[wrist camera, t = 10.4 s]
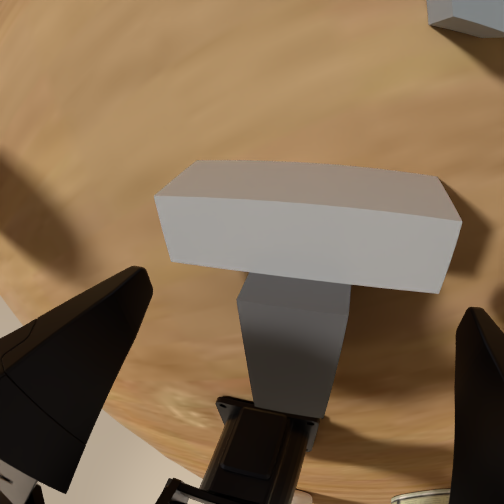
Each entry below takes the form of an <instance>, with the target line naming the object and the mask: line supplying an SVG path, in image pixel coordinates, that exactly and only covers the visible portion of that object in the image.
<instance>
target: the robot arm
mask: <svg viewBox="0 0 504 504" xmlns="http://www.w3.org/2000/svg"><path fill="white" fill-rule="evenodd" d="M152 295H153V287H152V284H151V282H150V279H149V276H148V273H147V271H146V269H145V268H143V267H139V266H131V267H129V268H127V269H125V270H123V271H121V272H119V273H118V274H116V275H114V276H112V277H110V278H108V279H106V280H105V281H103V282H101V283H99V284H97V285H95V286H93V287H92V288H90V289H88V290H86V291H84V292H83V293H81V294H79V295H77V296H75V297H73V298H72V299H70V300H68V301H66V302H65V303H63V304H61V305H59V306H57V307H56V308H54V309H52V310H50V311H49V312H47V313H45V314H43V315H42V316H40V317H38V318H37V319H35V320H33V321H31V322H30V323H28V324H26V325H24V326H23V327H21V328H19V329H17V330H15V331H14V332H12V333H10V334H8V335H6V336H4V337H2V338H0V504H45V503H44V498H43V494H42V489H41V486H40V485H38V484H37V482H38V481H39V482H41V483H43V484H45V485H47V486H49V487H51V488H53V489H56V490H58V491H60V492H62V493H65V494H66V493H67V491H68V489H69V486H70V484H71V481H72V478H73V476H74V473H75V471H76V468H77V466H78V463H79V461H80V458H81V456H82V454H83V451H84V449H85V446H86V445H85V444H86V443H87V441H88V439H89V436H90V434H91V432H92V430H93V427H94V425H95V422H96V420H97V418H98V416H99V414H100V411H101V409H102V407H103V405H104V403H105V400H106V398H107V396H108V394H109V392H110V390H111V388H112V385H113V383H114V381H115V379H116V377H117V375H118V373H119V371H120V369H121V367H122V364H123V362H124V360H125V358H126V356H127V354H128V352H129V350H130V348H131V346H132V344H133V342H134V340H135V338H136V336H137V333H138V331H139V328H140V326H141V323H142V320H143V318H144V315H145V313H146V310H147V308H148V305H149V303H150V300H151V298H152ZM454 388H455V439H454V458H453V471H452V481H451V489H450V497H449V504H504V333H503V332H502V331H501V330H500V328H499V327H498V326H497V325H496V323H495V322H494V321H493V320H492V319H491V317H490V316H489V315H488V314H487V313H486V312H485V310H484V309H483V308H480V307H469V308H468V309H467V310H466V312H465V314H464V316H463V318H462V320H461V322H460V324H459V326H458V328H457V331H456V360H455V387H454ZM216 406H217V409H218V411H219V413H220V416H221V418H222V420H223V423H224V425H225V427H224V429H223V432H222V434H221V437H220V439H219V442H218V444H217V447H216V449H215V451H214V454H213V456H212V459H211V461H210V464H209V466H208V469H207V471H206V473H205V476H204V478H203V481H202V483H201V485H200V488H199V489H198V488H196V487H193V486H190V485H188V484H185V483H184V482H183V481H181V480H179V479H176V478H173V479H170V478H169V479H168V481H167V483H166V485H165V488H164V490H163V492H162V494H161V495H160V497H159V498H158V500H157V502H156V503H155V504H187V502H188V499H189V498H190V499H193V500H196V501H199V502H201V503H204V504H291V503H292V500H293V496H294V493H295V490H296V486H297V483H298V479H299V475H300V472H301V468H302V464H303V460H304V457H305V453H306V452H310V451H312V447H313V444H314V441H315V437H316V433H317V430H318V426H319V422H320V418H315V417H308V416H302V415H296V414H290V413H285V412H279V411H274V410H269V409H264V408H259V407H255V406H254V404H250V403H246V402H241V401H237V400H233V399H229V398H225V397H218V398H217V401H216Z"/></svg>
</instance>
